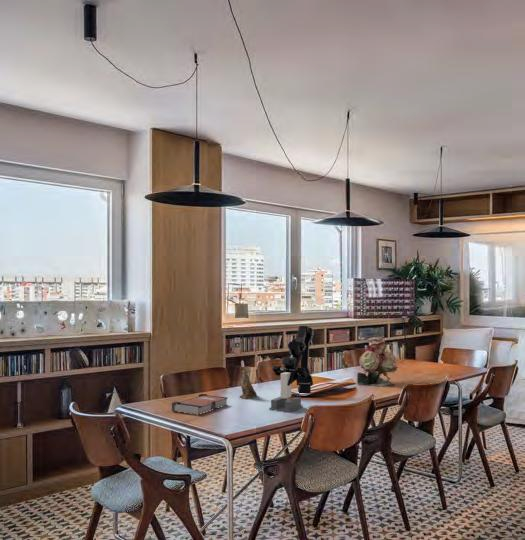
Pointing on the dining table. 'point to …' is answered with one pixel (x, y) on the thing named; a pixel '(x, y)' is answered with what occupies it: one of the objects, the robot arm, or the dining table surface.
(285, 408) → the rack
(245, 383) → the worn brown figurine
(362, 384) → the rose bouquet
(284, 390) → the grey block
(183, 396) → the dining table surface
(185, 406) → the book
